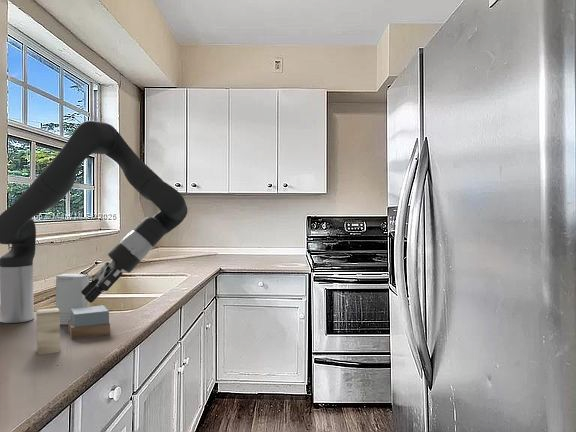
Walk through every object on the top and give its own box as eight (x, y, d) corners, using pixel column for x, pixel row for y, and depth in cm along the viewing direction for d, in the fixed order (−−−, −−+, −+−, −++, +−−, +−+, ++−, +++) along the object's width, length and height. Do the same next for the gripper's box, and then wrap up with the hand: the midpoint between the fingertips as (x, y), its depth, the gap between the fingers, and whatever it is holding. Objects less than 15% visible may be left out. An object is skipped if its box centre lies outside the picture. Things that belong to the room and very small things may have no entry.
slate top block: (70, 320, 146) (70, 308, 146) (103, 317, 150) (103, 305, 150) (74, 327, 138) (74, 314, 138) (109, 323, 143) (108, 310, 142)
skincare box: (54, 325, 153) (53, 276, 153) (62, 320, 159) (61, 273, 159) (82, 324, 154) (82, 275, 153) (89, 320, 160) (89, 273, 159)
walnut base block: (68, 332, 147) (67, 320, 146) (104, 328, 151) (104, 316, 151) (71, 340, 138) (71, 327, 138) (110, 335, 142) (110, 323, 142)
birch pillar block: (37, 349, 128) (36, 309, 128) (58, 346, 131) (58, 307, 130) (37, 354, 124) (37, 313, 124) (60, 351, 126) (59, 311, 126)
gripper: (115, 239, 141) (71, 284, 136) (125, 243, 128) (77, 292, 123) (135, 257, 144) (93, 302, 139) (147, 263, 131) (100, 312, 126)
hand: (85, 297), depth 131 cm, fingers open, 8 cm apart
